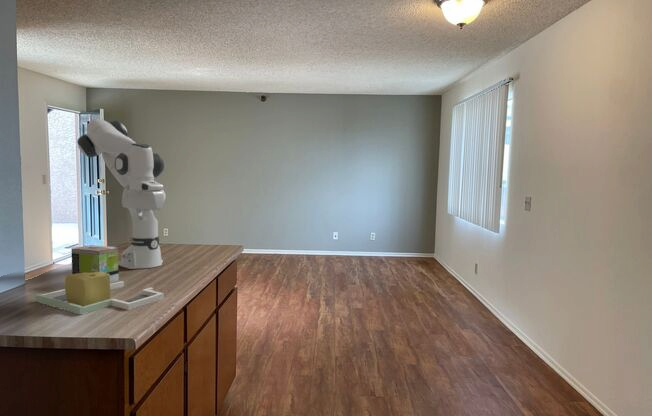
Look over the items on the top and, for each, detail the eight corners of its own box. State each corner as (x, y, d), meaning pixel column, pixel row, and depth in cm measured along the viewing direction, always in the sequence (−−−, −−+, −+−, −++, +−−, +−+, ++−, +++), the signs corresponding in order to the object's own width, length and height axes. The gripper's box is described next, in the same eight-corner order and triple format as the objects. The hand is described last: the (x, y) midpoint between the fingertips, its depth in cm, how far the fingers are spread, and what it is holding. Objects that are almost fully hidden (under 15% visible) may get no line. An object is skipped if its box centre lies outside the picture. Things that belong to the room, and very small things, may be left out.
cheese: (93, 295, 150) (93, 269, 149) (112, 300, 145) (111, 273, 144) (64, 303, 141) (63, 275, 140) (83, 308, 136) (82, 279, 135)
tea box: (119, 281, 170) (118, 246, 169) (99, 287, 161) (98, 250, 159) (92, 277, 175) (91, 243, 174) (71, 283, 166) (70, 247, 164)
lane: (35, 301, 142) (35, 294, 142) (109, 283, 167) (109, 277, 167) (97, 320, 126) (97, 312, 126) (169, 296, 151) (169, 290, 150)
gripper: (117, 184, 160) (118, 219, 161) (152, 186, 151) (153, 222, 152) (131, 184, 166) (132, 217, 167) (166, 185, 156) (166, 221, 158)
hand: (142, 220), depth 159 cm, fingers closed
